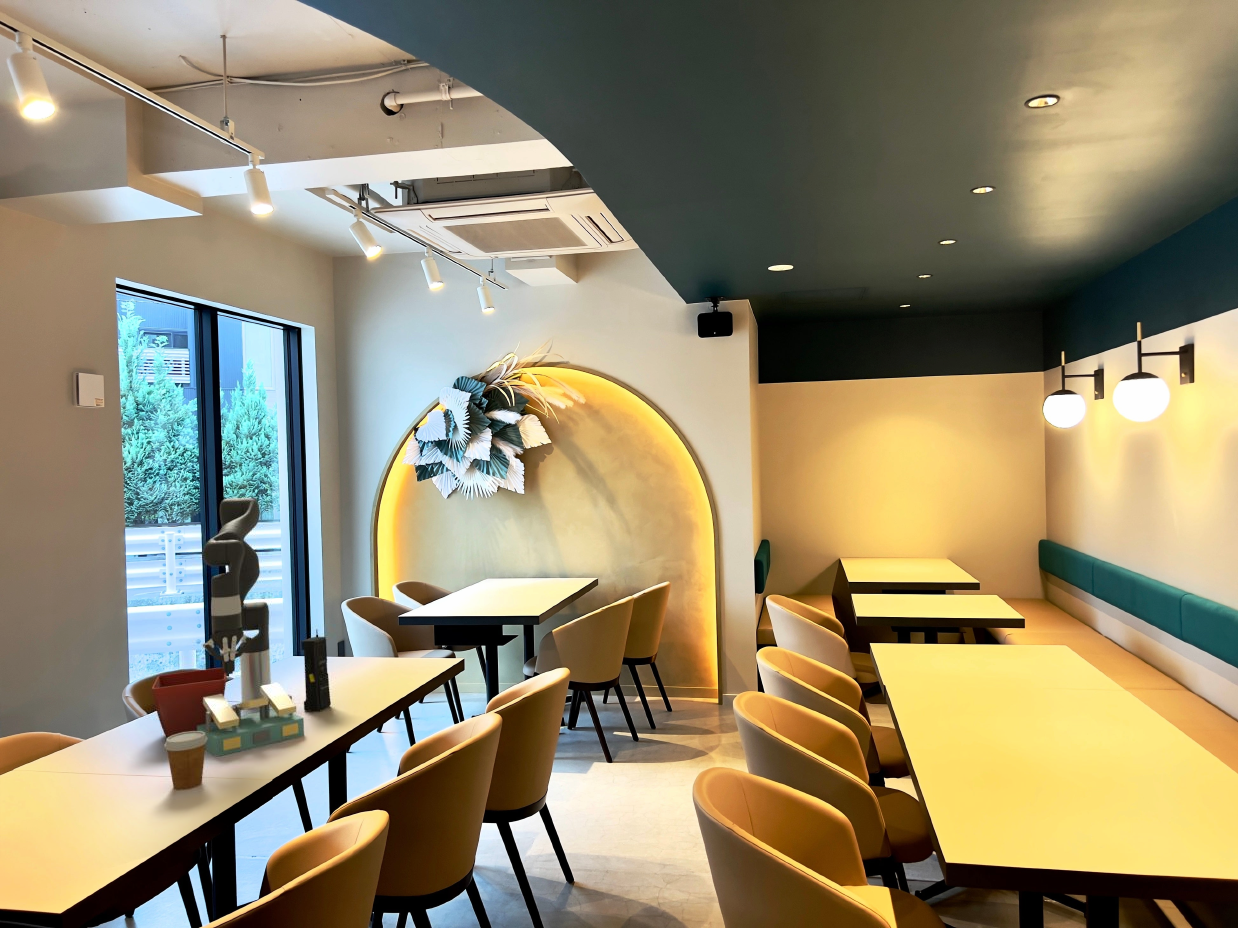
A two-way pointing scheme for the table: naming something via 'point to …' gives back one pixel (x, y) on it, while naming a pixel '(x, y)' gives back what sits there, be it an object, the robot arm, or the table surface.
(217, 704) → the rocker
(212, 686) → the plant pot
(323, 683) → the portable radio
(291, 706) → the rocker
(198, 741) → the disposable coffee cup
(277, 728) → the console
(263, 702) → the rocker
